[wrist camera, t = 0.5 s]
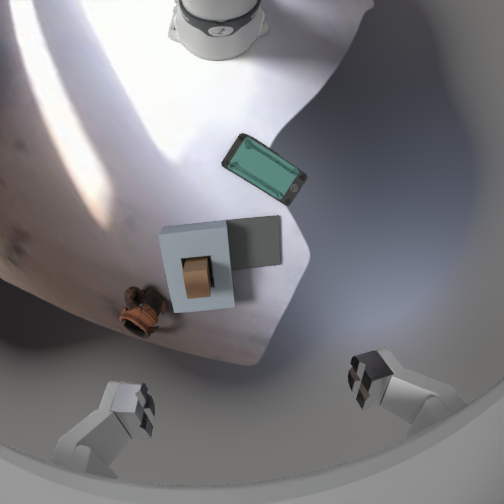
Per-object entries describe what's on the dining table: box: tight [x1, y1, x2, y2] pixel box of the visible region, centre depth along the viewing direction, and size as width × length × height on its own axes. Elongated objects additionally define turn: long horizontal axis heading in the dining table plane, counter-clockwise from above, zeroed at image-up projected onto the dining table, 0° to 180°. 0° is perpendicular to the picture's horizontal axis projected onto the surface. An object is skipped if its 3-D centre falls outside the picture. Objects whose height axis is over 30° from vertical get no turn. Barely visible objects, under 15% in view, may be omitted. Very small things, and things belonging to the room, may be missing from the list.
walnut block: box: [182, 256, 211, 299], centre depth 49 cm, size 5×4×9 cm
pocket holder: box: [159, 220, 235, 313], centre depth 51 cm, size 16×12×5 cm
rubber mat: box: [226, 215, 280, 270], centre depth 53 cm, size 10×10×1 cm
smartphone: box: [221, 133, 307, 206], centre depth 48 cm, size 7×1×15 cm
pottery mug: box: [119, 287, 166, 338], centre depth 53 cm, size 12×10×8 cm
